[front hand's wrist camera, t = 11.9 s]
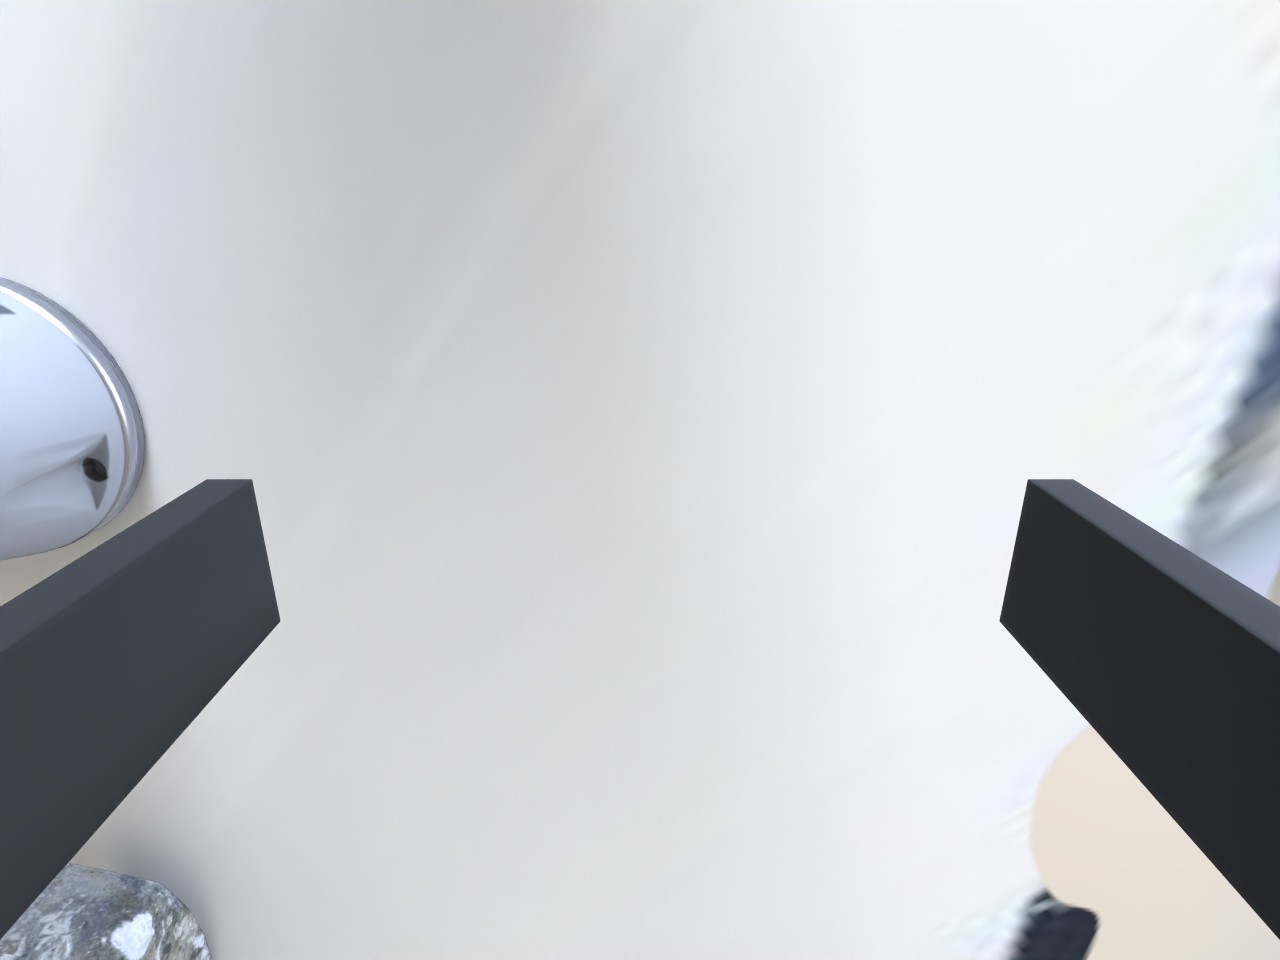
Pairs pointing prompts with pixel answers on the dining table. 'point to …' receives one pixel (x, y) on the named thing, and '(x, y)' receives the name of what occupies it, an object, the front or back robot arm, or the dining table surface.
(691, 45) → the dining table surface
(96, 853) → the dining table surface
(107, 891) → the concrete block
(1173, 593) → the front robot arm
